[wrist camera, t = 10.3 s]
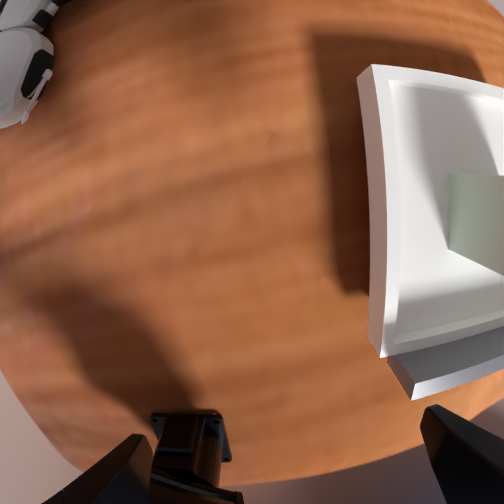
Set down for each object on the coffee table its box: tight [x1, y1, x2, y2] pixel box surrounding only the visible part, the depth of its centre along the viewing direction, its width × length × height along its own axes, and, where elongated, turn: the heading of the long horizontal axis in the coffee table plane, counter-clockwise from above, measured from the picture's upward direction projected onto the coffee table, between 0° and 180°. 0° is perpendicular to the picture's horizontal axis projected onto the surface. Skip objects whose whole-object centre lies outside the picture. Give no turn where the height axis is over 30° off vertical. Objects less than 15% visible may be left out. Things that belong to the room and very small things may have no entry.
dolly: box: [356, 64, 504, 400], centre depth 15 cm, size 17×14×8 cm
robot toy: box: [0, 0, 73, 129], centre depth 14 cm, size 12×4×15 cm
